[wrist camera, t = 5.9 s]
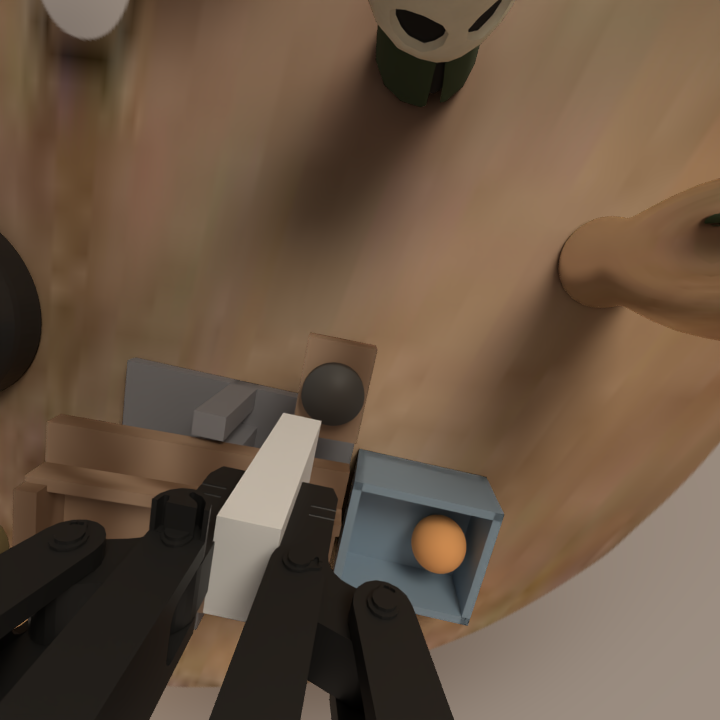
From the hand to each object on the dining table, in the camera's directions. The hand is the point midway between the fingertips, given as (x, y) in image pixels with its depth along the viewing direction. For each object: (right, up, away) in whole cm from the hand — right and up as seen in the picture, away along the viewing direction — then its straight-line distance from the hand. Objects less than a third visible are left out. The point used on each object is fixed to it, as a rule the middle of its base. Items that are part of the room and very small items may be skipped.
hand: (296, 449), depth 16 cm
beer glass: (+19, +10, +12) cm, 25 cm away
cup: (+6, -9, +17) cm, 21 cm away
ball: (+8, -10, +14) cm, 19 cm away
